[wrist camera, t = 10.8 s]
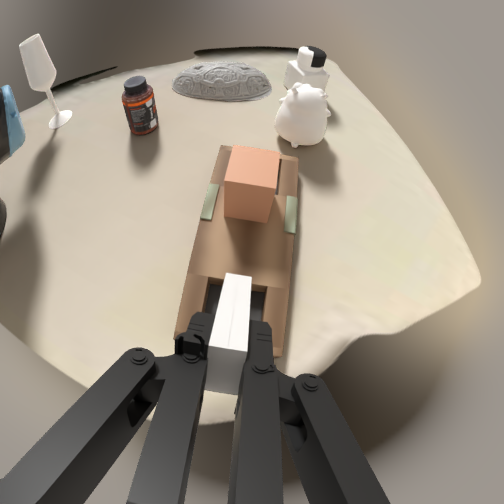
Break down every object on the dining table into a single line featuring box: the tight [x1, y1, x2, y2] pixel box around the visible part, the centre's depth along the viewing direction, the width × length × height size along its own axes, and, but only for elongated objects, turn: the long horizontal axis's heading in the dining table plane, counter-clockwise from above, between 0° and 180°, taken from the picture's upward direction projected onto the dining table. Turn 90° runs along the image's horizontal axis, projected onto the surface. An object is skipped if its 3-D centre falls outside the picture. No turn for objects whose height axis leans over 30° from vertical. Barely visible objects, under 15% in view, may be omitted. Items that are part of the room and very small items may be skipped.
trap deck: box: [173, 145, 299, 358], centre depth 40 cm, size 13×31×3 cm, turn 172°
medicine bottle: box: [284, 46, 330, 92], centre depth 54 cm, size 7×7×12 cm
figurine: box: [275, 83, 331, 148], centre depth 46 cm, size 10×10×12 cm
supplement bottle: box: [122, 76, 158, 135], centre depth 45 cm, size 6×6×11 cm
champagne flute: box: [19, 34, 72, 129], centre depth 40 cm, size 7×7×24 cm
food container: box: [172, 61, 272, 101], centre depth 56 cm, size 16×25×7 cm, turn 88°
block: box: [224, 145, 280, 223], centre depth 37 cm, size 6×6×8 cm
